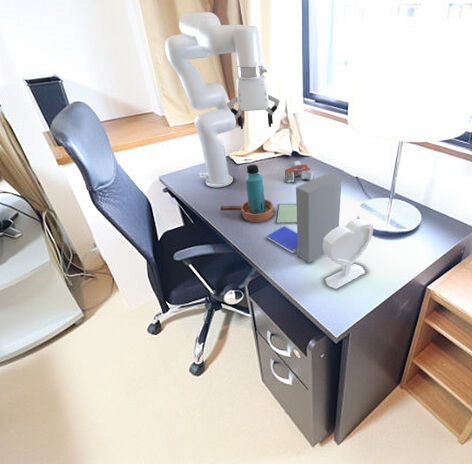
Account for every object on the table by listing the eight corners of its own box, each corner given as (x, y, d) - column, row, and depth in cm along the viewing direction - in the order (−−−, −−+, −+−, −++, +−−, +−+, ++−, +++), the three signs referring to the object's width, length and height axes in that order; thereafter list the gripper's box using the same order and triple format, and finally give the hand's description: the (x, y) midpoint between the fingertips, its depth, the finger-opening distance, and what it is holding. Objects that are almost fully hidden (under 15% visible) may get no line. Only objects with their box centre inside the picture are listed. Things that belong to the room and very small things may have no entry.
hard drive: (309, 239, 109) (284, 225, 116) (292, 250, 104) (267, 235, 111) (309, 242, 110) (284, 229, 117) (292, 253, 105) (267, 239, 112)
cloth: (276, 222, 121) (276, 222, 120) (279, 205, 131) (279, 204, 131) (303, 222, 120) (303, 222, 120) (303, 205, 131) (303, 204, 131)
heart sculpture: (330, 291, 91) (333, 241, 80) (320, 281, 94) (320, 232, 84) (369, 270, 98) (376, 221, 88) (358, 261, 101) (363, 213, 91)
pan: (240, 222, 121) (238, 214, 119) (245, 206, 131) (244, 198, 129) (271, 222, 121) (271, 214, 119) (274, 206, 131) (274, 198, 129)
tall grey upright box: (325, 237, 112) (327, 171, 98) (338, 245, 109) (342, 178, 94) (296, 254, 105) (293, 186, 90) (308, 263, 101) (308, 193, 87)
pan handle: (220, 210, 124) (220, 207, 124) (221, 208, 126) (221, 205, 125) (242, 210, 124) (241, 207, 124) (242, 208, 126) (242, 205, 125)
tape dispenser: (297, 167, 166) (273, 179, 152) (297, 157, 163) (272, 168, 149) (326, 173, 157) (303, 186, 143) (326, 163, 154) (303, 175, 140)
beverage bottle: (263, 218, 123) (258, 170, 111) (247, 217, 124) (240, 169, 112) (268, 210, 128) (264, 163, 116) (252, 208, 129) (246, 162, 118)
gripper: (276, 69, 104) (279, 122, 114) (222, 71, 102) (230, 125, 112) (278, 72, 98) (282, 128, 108) (221, 75, 96) (230, 132, 106)
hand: (255, 127), depth 110 cm, fingers open, 9 cm apart
